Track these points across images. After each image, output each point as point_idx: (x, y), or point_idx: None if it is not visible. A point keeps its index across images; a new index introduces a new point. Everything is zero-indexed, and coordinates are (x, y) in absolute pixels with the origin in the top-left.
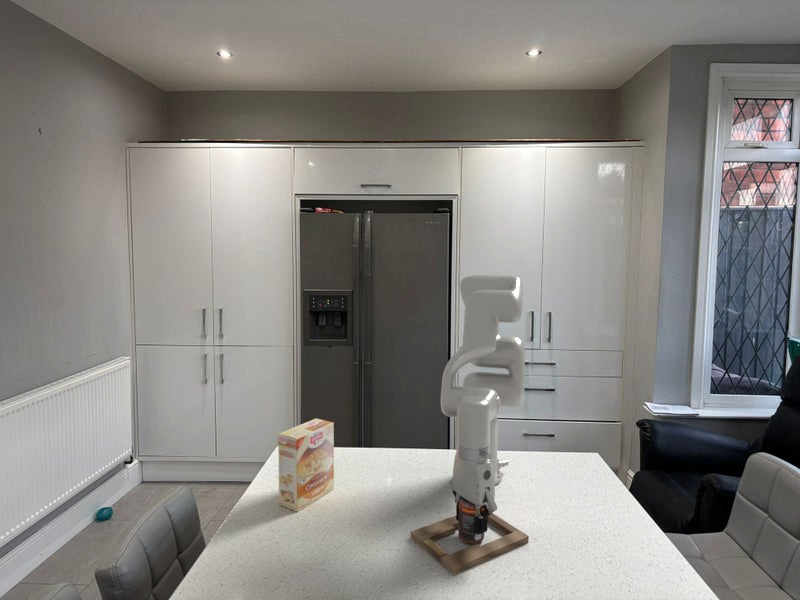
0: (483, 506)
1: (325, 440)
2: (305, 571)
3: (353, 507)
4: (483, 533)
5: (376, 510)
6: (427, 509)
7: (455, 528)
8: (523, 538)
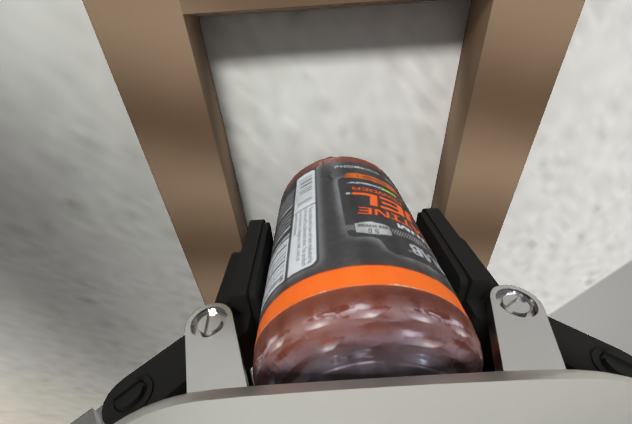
0: (498, 361)
1: None
2: None
3: (20, 389)
4: (401, 197)
5: (42, 357)
6: (40, 233)
7: (244, 223)
8: None
